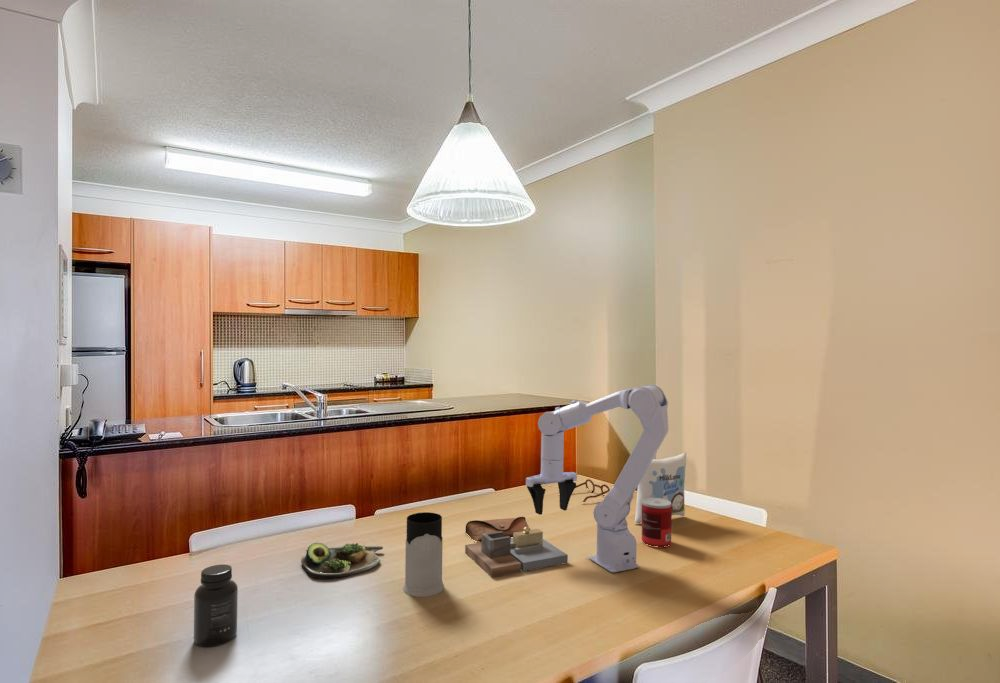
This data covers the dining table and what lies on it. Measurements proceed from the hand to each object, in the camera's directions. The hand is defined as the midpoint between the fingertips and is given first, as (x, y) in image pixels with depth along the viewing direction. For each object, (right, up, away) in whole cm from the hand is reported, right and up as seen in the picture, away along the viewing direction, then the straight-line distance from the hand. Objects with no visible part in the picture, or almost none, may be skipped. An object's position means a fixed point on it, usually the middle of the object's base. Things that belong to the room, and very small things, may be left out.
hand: (551, 511), depth 141 cm
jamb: (-15, -10, -9) cm, 20 cm away
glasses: (+16, -11, +49) cm, 53 cm away
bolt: (-6, -7, -4) cm, 11 cm away
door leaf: (-6, -10, -4) cm, 12 cm away
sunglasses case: (-13, -10, +11) cm, 20 cm away
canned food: (+28, -10, +5) cm, 31 cm away
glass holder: (-30, -10, -20) cm, 38 cm away
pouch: (+35, -11, +24) cm, 44 cm away
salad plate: (-51, -10, -10) cm, 53 cm away
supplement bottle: (-63, -9, -44) cm, 78 cm away
